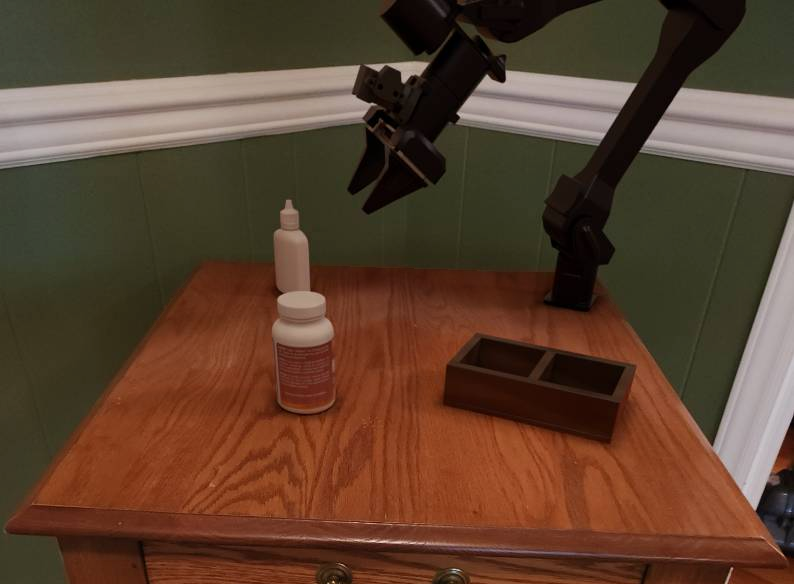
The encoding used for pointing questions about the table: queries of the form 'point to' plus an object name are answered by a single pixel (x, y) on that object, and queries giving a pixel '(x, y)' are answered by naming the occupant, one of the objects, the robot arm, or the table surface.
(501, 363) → the box
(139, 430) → the table surface
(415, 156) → the robot arm
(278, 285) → the eye dropper bottle
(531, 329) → the table surface
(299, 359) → the pill bottle
